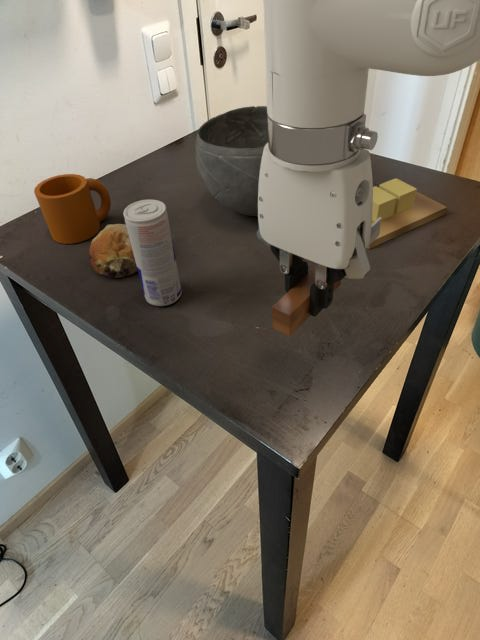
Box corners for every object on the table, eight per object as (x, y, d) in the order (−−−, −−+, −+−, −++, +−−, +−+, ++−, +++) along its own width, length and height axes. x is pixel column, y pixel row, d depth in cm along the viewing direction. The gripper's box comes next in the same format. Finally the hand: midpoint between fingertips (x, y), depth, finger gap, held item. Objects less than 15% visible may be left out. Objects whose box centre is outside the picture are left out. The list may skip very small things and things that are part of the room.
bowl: (278, 169, 98) (278, 94, 88) (334, 215, 84) (342, 132, 74) (185, 195, 92) (174, 118, 82) (229, 248, 78) (222, 164, 68)
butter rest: (392, 195, 85) (395, 177, 83) (413, 206, 82) (417, 188, 80) (376, 202, 84) (379, 184, 81) (396, 214, 81) (400, 195, 78)
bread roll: (162, 273, 80) (165, 227, 77) (125, 286, 71) (127, 234, 69) (115, 261, 84) (117, 216, 81) (74, 271, 75) (75, 222, 72)
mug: (122, 231, 84) (110, 186, 78) (55, 249, 81) (36, 203, 75) (111, 209, 90) (99, 165, 84) (49, 225, 87) (31, 180, 81)
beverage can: (189, 291, 71) (174, 203, 61) (166, 313, 68) (146, 224, 57) (161, 280, 73) (142, 194, 63) (137, 300, 70) (113, 213, 60)
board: (395, 188, 90) (396, 181, 89) (445, 214, 82) (447, 207, 81) (322, 217, 84) (322, 210, 83) (368, 249, 76) (370, 241, 75)
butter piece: (372, 203, 84) (375, 185, 81) (393, 215, 80) (396, 197, 78) (355, 210, 82) (358, 192, 80) (375, 223, 79) (379, 204, 77)
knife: (289, 336, 47) (289, 315, 45) (272, 328, 48) (271, 306, 46) (386, 238, 58) (389, 217, 56) (370, 233, 59) (372, 212, 57)
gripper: (430, 137, 35) (393, 312, 48) (263, 102, 43) (269, 261, 56) (384, 176, 32) (357, 356, 44) (210, 131, 40) (229, 294, 52)
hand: (308, 302), depth 50 cm, fingers closed on knife, 2 cm apart
